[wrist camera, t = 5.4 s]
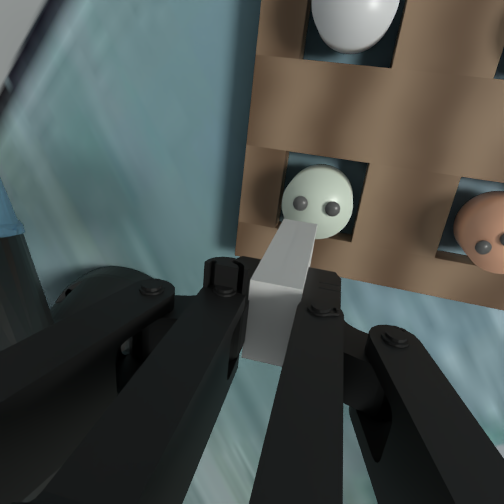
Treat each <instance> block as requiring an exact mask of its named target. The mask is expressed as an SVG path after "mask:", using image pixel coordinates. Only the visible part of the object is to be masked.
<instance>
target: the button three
mask: <svg viewBox="0 0 504 504" xmlns="http://www.w3.org/2000/svg"><path fill="white" fill-rule="evenodd" d="M453 232H454V236H455V239H456V241H457V243H458V244H459V245H460V247H461V248H462V249H463V251H464V252H465V253H466V254H467V256H468V257H469V258H470V259H471V261H472V262H473V263H474V264H475V265H477V266H478V267H479V268H481V269H483V270H485V271H488V272H491V273H497V274H504V191H491V192H486V193H482V194H480V195H477V196H475V197H473V198H472V199H470V200H469V201H468V202H466V203H465V204H464V205H463V206H462V207H461V209H460V210H459V212H458V213H457V215H456V217H455V220H454V225H453Z"/></svg>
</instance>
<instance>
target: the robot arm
mask: <svg viewBox="0 0 504 504" xmlns="http://www.w3.org/2000/svg"><path fill="white" fill-rule="evenodd" d="M316 230H317V224H314V223H307V222H301V221H295V220H289V219H284V220H283V221H282V223H281V225H280V227H279V229H278V230H277V232H276V234H275V236H274V238H273V239H272V241H271V243H270V245H269V247H268V249H267V250H266V252H265V254H264V256H263V258H262V259H257V258H252V257H246V256H241V257H239V258H237V259H235V258H230V257H215V258H211V259H208V260H207V261H205V265H204V281H203V288H202V289H201V290H200V292H199V293H198V294H197V295H195V296H179V295H175V287H174V286H173V285H172V284H171V283H169V282H167V281H164V280H160V279H154V278H151V277H150V276H148V275H146V274H144V273H141V272H139V271H136V270H133V269H129V268H123V267H104V268H99V269H96V270H93V271H91V272H89V273H87V274H85V275H84V276H82V277H81V278H79V279H78V280H76V281H74V282H73V283H71V284H70V285H69V286H68V287H67V288H66V289H65V290H64V291H63V292H62V293H61V295H60V296H59V298H58V299H57V301H56V303H55V304H54V305H53V306H52V308H51V309H49V306H48V304H47V301H46V298H45V295H44V292H43V289H42V286H41V283H40V281H39V278H38V275H37V272H36V269H35V266H34V263H33V260H32V258H31V255H30V252H29V249H28V246H27V243H26V240H25V237H24V235H23V233H25V230H24V227H23V224H22V223H21V221H20V220H18V219H17V217H16V215H15V212H14V210H13V207H12V205H11V202H10V200H9V198H8V195H7V193H6V190H5V188H4V185H3V183H2V181H1V178H0V504H182V503H183V501H184V498H185V496H186V493H187V491H188V488H189V486H190V484H191V481H192V479H193V476H194V474H195V471H196V469H197V466H198V464H199V461H200V459H201V457H202V454H203V452H204V449H205V447H206V444H207V442H208V439H209V437H210V434H211V432H212V430H213V427H214V425H215V422H216V420H217V417H218V415H219V412H220V410H221V407H222V405H223V403H224V400H225V398H226V395H227V393H228V390H229V388H230V385H231V383H232V380H233V378H234V376H235V373H236V371H237V368H238V361H239V353H240V351H241V349H242V346H243V350H242V358H246V359H251V360H255V361H259V362H264V363H268V364H272V365H276V366H281V367H282V370H281V374H280V379H279V383H278V387H277V391H276V395H275V399H274V403H273V407H272V411H271V415H270V420H269V424H268V428H267V432H266V436H265V440H264V444H263V448H262V452H261V456H260V460H259V465H258V469H257V473H256V477H255V481H254V485H253V489H252V493H251V497H250V501H249V504H343V403H345V404H347V405H349V415H350V418H351V421H352V424H353V427H354V430H355V433H356V437H357V440H358V443H359V446H360V449H361V452H362V455H363V458H364V462H365V465H366V468H367V471H368V474H369V477H370V480H371V483H372V486H373V490H374V493H375V496H376V499H377V502H378V504H504V458H503V457H502V456H501V454H500V453H499V451H498V450H497V448H496V447H495V446H494V444H493V443H492V441H491V440H490V439H489V437H488V436H487V434H486V433H485V432H484V430H483V429H482V427H481V426H480V425H479V423H478V422H477V420H476V419H475V418H474V416H473V415H472V413H471V412H470V411H469V409H468V408H467V406H466V405H465V403H464V402H463V401H462V399H461V398H460V396H459V395H458V394H457V392H456V391H455V389H454V388H453V387H452V385H451V384H450V382H449V381H448V380H447V378H446V377H445V375H444V374H443V373H442V371H441V370H440V368H439V367H438V366H437V364H436V363H435V361H434V360H433V359H432V357H431V356H430V354H429V353H428V351H427V350H426V349H425V347H424V346H423V344H422V343H421V342H420V340H418V339H417V338H416V337H415V336H414V335H413V334H411V333H410V332H408V331H406V330H405V329H403V328H399V327H397V326H390V325H377V326H374V327H372V328H371V329H370V331H369V334H367V333H365V332H362V331H360V330H358V329H356V328H353V327H352V326H350V325H349V324H347V323H346V322H345V321H344V315H343V312H342V310H341V309H340V308H341V278H340V277H339V276H338V275H337V273H336V272H333V271H327V270H322V269H316V268H311V267H310V264H311V258H312V253H313V247H314V241H315V236H316Z"/></svg>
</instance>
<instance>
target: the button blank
mask: <svg viewBox="0 0 504 504" xmlns="http://www.w3.org/2000/svg"><path fill="white" fill-rule="evenodd" d="M398 5H399V0H312V14H313V18H314V22H315V24H316V27H317V29H318V31H319V34H320V36H321V38H322V40H323V41H324V42H325V43H326V44H327V45H328V46H329V47H330V48H331V49H333V50H334V51H336V52H339V53H343V54H357V53H361V52H363V51H366V50H368V49H370V48H371V47H373V46H374V45H375V44H376V43H378V42H379V41H380V40H381V38H382V37H383V36H384V35H385V33H386V32H387V30H388V28H389V26H390V24H391V22H392V20H393V18H394V16H395V13H396V11H397V8H398Z"/></svg>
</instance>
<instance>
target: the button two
mask: <svg viewBox="0 0 504 504" xmlns="http://www.w3.org/2000/svg"><path fill="white" fill-rule="evenodd" d="M352 209H353V192H352V187H351V184H350V182H349V180H348V178H347V177H346V176H345V174H344V173H343V172H342V171H340V170H339V169H337V168H335V167H333V166H330V165H326V164H316V165H312V166H309V167H306V168H304V169H303V170H301V171H300V172H299V173H298V174H297V175H296V176H295V177H294V178H293V180H292V181H291V182H290V183H289V185H288V186H287V188H286V189H285V191H284V194H283V198H282V212H283V215H284V218H285V219H289V220H295V221H301V222H307V223H314V224H317V230H316V236H315V239H324V238H328V237H331V236H333V235H335V234H337V233H338V232H340V231H341V230H342V229H343V228H344V227H345V226H346V224H347V223H348V221H349V219H350V217H351V214H352Z"/></svg>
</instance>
